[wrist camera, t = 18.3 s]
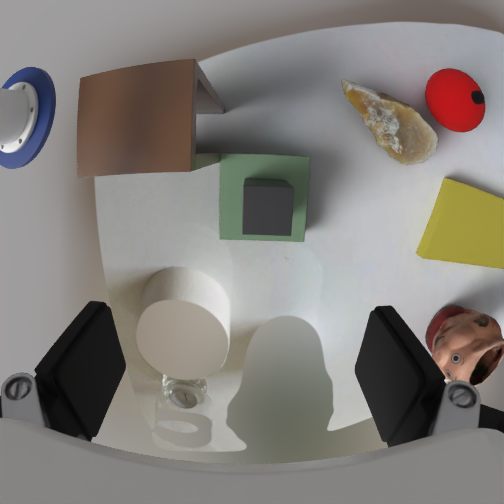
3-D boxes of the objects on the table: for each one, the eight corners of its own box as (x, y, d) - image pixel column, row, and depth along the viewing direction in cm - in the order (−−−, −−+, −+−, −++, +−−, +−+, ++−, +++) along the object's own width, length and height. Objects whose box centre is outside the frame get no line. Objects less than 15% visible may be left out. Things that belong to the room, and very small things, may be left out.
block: (243, 217, 33) (241, 234, 26) (244, 178, 31) (243, 185, 24) (283, 218, 33) (291, 236, 26) (285, 179, 31) (294, 187, 24)
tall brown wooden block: (160, 162, 34) (77, 178, 16) (161, 109, 31) (80, 77, 13) (222, 161, 34) (191, 171, 16) (224, 106, 31) (195, 58, 13)
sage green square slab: (222, 231, 37) (219, 239, 33) (223, 153, 33) (219, 153, 30) (299, 233, 37) (304, 242, 34) (304, 156, 33) (310, 157, 30)
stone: (441, 169, 27) (345, 90, 24) (409, 174, 33) (320, 109, 30) (451, 126, 27) (363, 49, 24) (420, 134, 33) (339, 71, 30)
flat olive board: (516, 205, 35) (432, 174, 34) (523, 208, 33) (440, 175, 32) (501, 265, 39) (415, 252, 38) (507, 269, 37) (422, 258, 36)
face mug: (491, 289, 41) (533, 324, 27) (473, 339, 45) (507, 378, 32) (418, 301, 41) (462, 350, 28) (402, 357, 45) (432, 410, 32)
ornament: (416, 128, 32) (460, 127, 22) (409, 69, 29) (450, 53, 19) (460, 135, 31) (504, 138, 22) (455, 81, 28) (497, 72, 19)
